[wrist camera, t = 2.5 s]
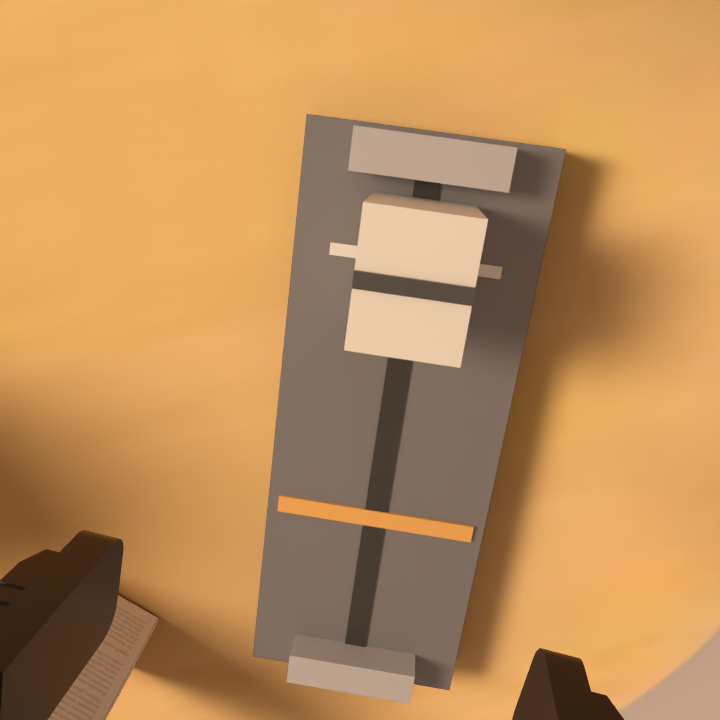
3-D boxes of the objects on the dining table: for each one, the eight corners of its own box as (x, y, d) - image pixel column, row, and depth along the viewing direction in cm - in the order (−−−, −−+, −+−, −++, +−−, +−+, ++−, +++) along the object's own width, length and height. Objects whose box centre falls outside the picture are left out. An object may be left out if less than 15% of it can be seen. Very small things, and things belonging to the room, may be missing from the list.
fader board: (314, 115, 28) (300, 112, 25) (556, 148, 28) (574, 149, 24) (261, 629, 36) (245, 678, 33) (447, 661, 36) (450, 714, 32)
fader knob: (373, 191, 26) (362, 202, 21) (476, 206, 26) (488, 220, 21) (357, 315, 28) (343, 351, 23) (454, 329, 28) (460, 369, 23)
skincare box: (33, 614, 37) (-139, 820, 26) (65, 560, 36) (-101, 752, 25) (129, 669, 38) (2, 895, 26) (164, 618, 37) (46, 832, 25)
